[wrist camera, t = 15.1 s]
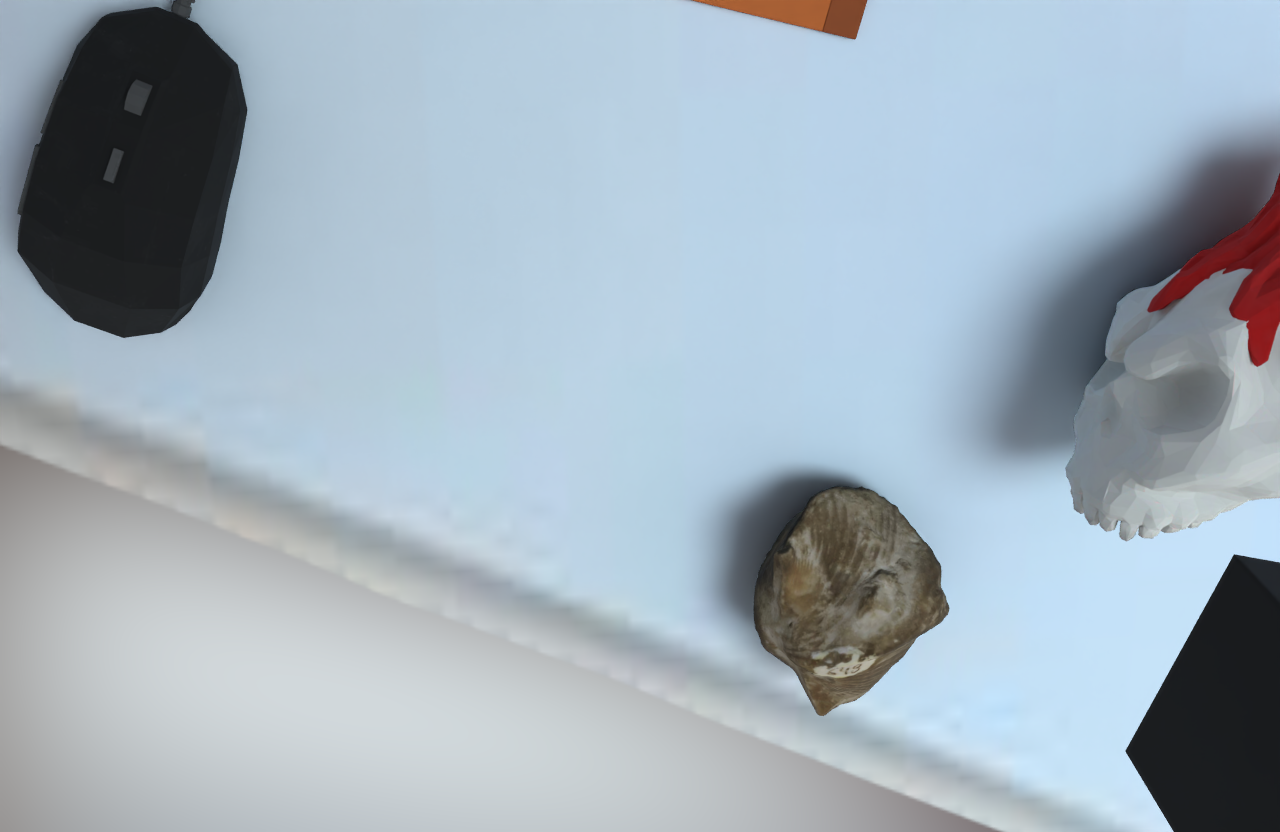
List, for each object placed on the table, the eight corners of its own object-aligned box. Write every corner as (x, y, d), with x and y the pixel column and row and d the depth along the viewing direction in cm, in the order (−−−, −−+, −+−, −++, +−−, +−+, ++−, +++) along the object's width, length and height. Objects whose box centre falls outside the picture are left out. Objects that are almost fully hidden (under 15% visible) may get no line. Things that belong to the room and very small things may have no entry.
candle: (1021, 469, 46) (1128, 97, 41) (1274, 501, 47) (1407, 143, 43) (1122, 572, 38) (1271, 119, 33) (1427, 607, 39) (1615, 175, 34)
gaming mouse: (302, -34, 37) (272, -22, 33) (193, 348, 43) (158, 393, 39) (107, -119, 35) (54, -115, 32) (22, 288, 41) (-31, 330, 38)
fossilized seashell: (736, 502, 44) (722, 672, 50) (852, 605, 40) (821, 778, 46) (876, 438, 48) (847, 604, 53) (997, 527, 43) (951, 697, 49)
